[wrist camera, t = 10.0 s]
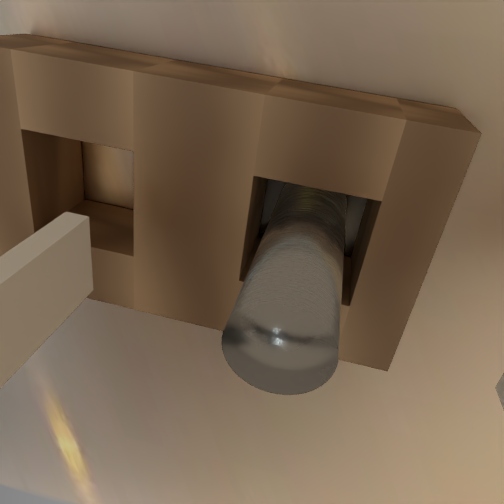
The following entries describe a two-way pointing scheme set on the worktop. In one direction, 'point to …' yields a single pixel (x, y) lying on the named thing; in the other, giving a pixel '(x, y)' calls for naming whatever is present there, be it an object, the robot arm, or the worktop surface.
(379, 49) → the worktop surface
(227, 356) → the peg
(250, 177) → the socket block
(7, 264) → the robot arm
